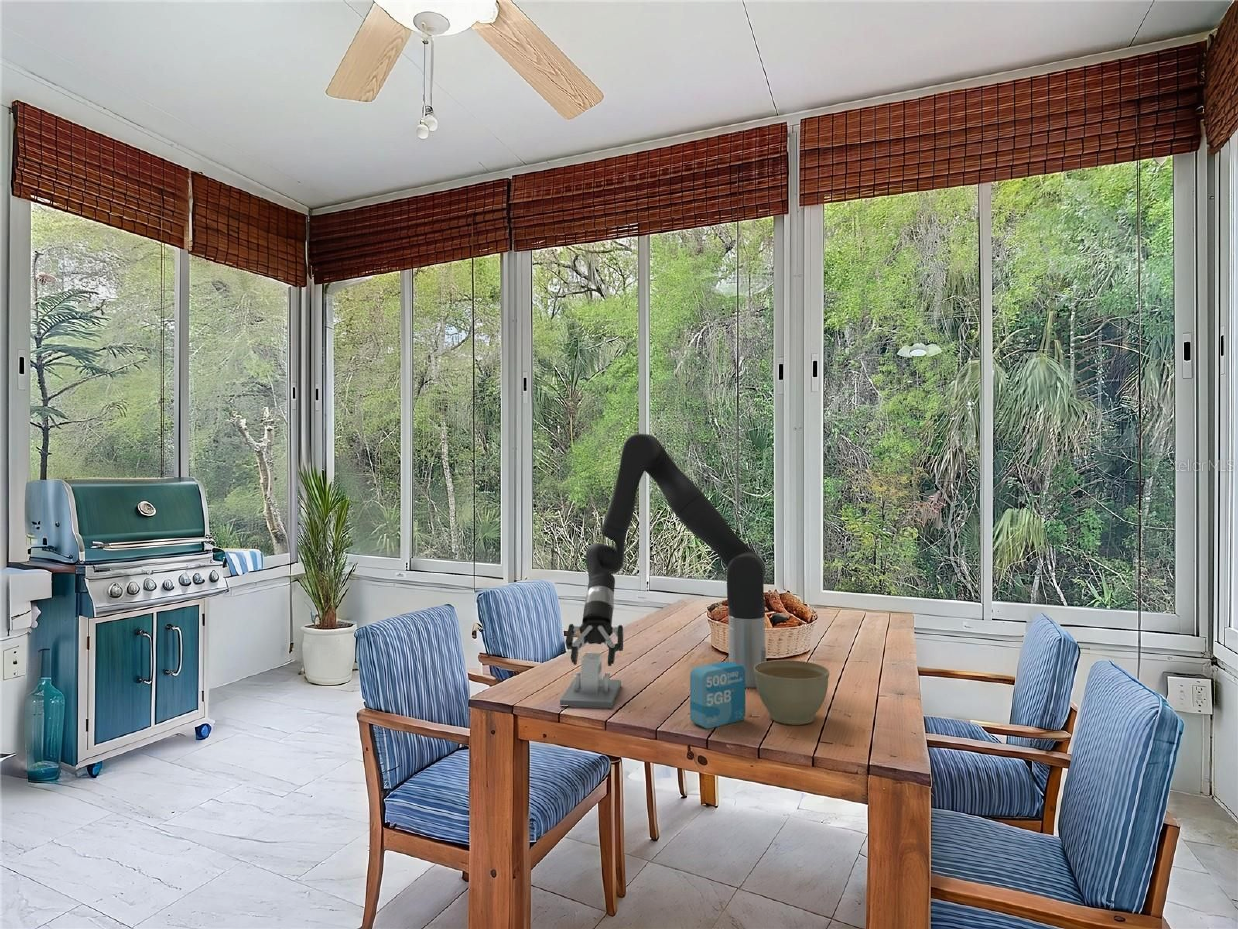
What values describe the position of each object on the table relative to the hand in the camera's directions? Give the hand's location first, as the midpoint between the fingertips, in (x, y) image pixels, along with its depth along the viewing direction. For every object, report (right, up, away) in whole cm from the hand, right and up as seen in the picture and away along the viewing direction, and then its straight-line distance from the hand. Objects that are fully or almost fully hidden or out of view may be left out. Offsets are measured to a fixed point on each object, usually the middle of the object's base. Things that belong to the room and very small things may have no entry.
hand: (592, 663), depth 171 cm
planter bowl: (+44, -7, -17) cm, 48 cm away
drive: (0, -6, 0) cm, 6 cm away
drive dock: (0, -8, 0) cm, 8 cm away
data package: (+28, -7, -19) cm, 34 cm away
